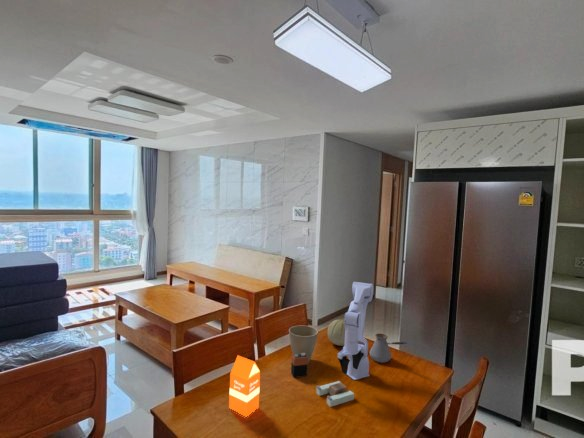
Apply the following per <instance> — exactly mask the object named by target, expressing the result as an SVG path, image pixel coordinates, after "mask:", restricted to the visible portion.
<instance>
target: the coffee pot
mask: <svg viewBox="0 0 584 438" xmlns="http://www.w3.org/2000/svg"><path fill="white" fill-rule="evenodd" d="M374 336H375V340H374V342H373V345H371V349H370V350H369V351H368V352H369V356H370V357H371V359H372V360H373V361H374V362H376V363H379V362H380V363H381V364H385V362H386V363H388V362H389V361H390V360H391V359H392V357H393V355H392V352H391V350H390V347H389V345H399V346H400V345H404V347H405V348H407V347H408V345H409V343H407V342H405V341H394V342H393V341H391V342H388V341H387V339H388V337H389V336H388V335H387V334H385V333H376V334H374ZM380 363H379V364H380Z"/></svg>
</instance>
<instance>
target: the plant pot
mask: <svg viewBox="0 0 584 438" xmlns="http://www.w3.org/2000/svg"><path fill="white" fill-rule="evenodd" d="M318 333H319V332H318V329H317V328H315V327H313V326H309V325H300V324H299V325H295V326H291V327H290V328H289V329H288V336H289V343H290V347H291V348H290V349H291V352H292V355H294V354H301V353H305V354H306V356H307V357H308V364H309V363H310V362H311V358H312V356H313V353H314V351H315V347H316V343H317V340H318V339H317V338H318Z"/></svg>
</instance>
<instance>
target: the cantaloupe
mask: <svg viewBox="0 0 584 438" xmlns="http://www.w3.org/2000/svg"><path fill="white" fill-rule="evenodd" d="M327 327H328V328H327V337H328V339H329V342H331V343H332V344H333V345H336V346H338V347H344V346H345V324H344V318H343V317H342V318H341V319H334V320H333V321H331V322H330V323H329V325H328V326H327Z"/></svg>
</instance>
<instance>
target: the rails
mask: <svg viewBox="0 0 584 438" xmlns="http://www.w3.org/2000/svg"><path fill="white" fill-rule="evenodd" d="M340 382H341V381H340V380H337V381H334V382H330V383H326V384H323V385H316V389H315V393H316V394H317V395H318V396H319V397H321V396H323V395H327V394H328V395H327V396H326V405H328V407H329V408H330V407H331V408H332V407H334V406H337V405H340V404H344V403H347V402H349V401H354V400H355V393H354V392H353V391H351V390H348V391H347V390H346V392H343V393H340V394H337V395H333V396H330V395H329V387H330V385H334V384H337V383H340Z"/></svg>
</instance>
